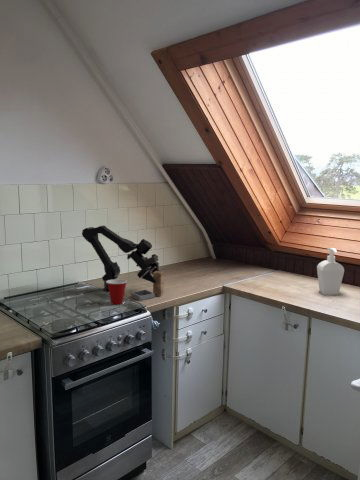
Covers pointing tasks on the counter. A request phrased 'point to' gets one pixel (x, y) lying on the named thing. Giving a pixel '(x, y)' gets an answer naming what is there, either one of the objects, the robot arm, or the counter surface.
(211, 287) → the counter surface
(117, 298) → the plastic cup
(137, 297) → the tray
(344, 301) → the counter surface
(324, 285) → the soap bottle
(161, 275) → the walnut block
